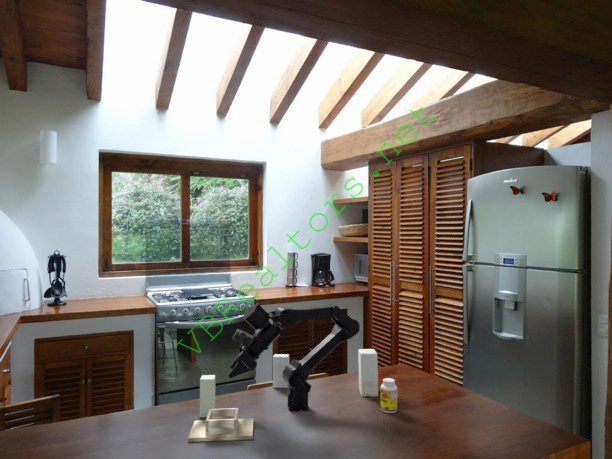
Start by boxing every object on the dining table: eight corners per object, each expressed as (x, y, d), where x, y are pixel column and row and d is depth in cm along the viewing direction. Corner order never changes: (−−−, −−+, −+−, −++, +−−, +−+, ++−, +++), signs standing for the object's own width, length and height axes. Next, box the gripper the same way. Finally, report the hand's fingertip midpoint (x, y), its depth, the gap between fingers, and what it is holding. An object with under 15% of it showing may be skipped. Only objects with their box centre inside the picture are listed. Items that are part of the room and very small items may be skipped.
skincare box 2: (378, 397, 156) (378, 354, 157) (360, 396, 156) (360, 353, 157) (374, 389, 165) (375, 348, 165) (357, 389, 165) (357, 348, 165)
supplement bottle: (377, 408, 145) (377, 378, 146) (391, 406, 148) (391, 376, 148) (386, 414, 140) (386, 383, 141) (400, 412, 142) (400, 381, 143)
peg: (215, 411, 142) (215, 374, 143) (213, 416, 138) (214, 379, 138) (201, 411, 142) (201, 375, 142) (199, 417, 137) (200, 379, 138)
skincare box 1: (289, 384, 169) (289, 354, 169) (287, 388, 165) (288, 357, 165) (274, 384, 170) (274, 353, 170) (272, 387, 165) (272, 356, 166)
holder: (253, 421, 134) (253, 405, 134) (252, 439, 122) (252, 421, 123) (194, 423, 133) (194, 407, 133) (188, 441, 121) (188, 423, 121)
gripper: (248, 316, 151) (216, 348, 150) (246, 326, 133) (209, 363, 131) (270, 338, 152) (238, 370, 150) (271, 351, 133) (235, 388, 132)
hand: (230, 372), depth 141 cm, fingers open, 9 cm apart
